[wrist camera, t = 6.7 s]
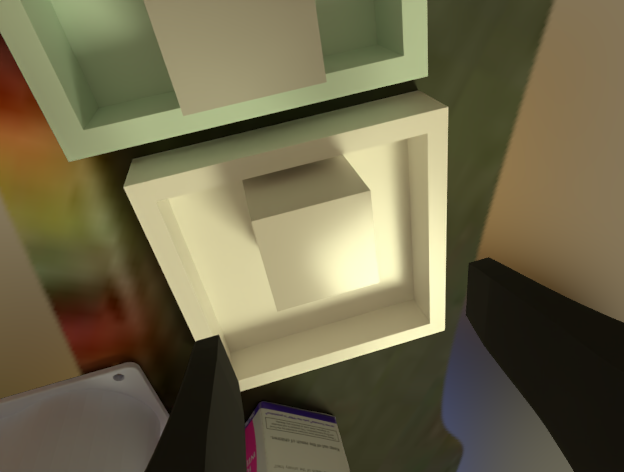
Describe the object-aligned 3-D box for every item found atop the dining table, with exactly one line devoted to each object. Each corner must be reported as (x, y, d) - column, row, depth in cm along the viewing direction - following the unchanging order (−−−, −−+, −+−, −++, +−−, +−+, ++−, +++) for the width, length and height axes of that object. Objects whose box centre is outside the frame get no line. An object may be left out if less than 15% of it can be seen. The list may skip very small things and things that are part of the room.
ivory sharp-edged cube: (263, 252, 19) (277, 311, 16) (240, 171, 17) (251, 221, 14) (348, 228, 19) (379, 282, 16) (337, 147, 17) (370, 190, 14)
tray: (219, 358, 23) (221, 397, 21) (132, 158, 16) (123, 187, 14) (423, 298, 24) (444, 330, 22) (418, 90, 17) (448, 106, 15)
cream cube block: (186, 82, 15) (183, 116, 11) (141, -57, 12) (121, -65, 9) (298, 56, 15) (326, 82, 12) (273, -83, 13) (300, -100, 10)
